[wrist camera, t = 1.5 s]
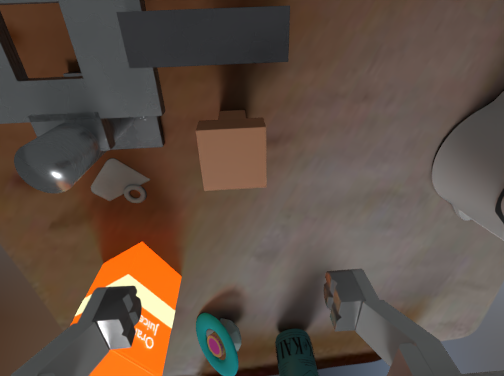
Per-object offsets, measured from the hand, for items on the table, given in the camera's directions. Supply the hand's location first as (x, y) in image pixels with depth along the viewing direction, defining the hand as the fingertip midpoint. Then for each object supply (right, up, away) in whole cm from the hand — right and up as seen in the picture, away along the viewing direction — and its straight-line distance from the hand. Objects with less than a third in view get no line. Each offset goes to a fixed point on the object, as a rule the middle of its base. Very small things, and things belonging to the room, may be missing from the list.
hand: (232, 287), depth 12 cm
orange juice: (-16, -8, +30) cm, 35 cm away
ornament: (-5, -19, +38) cm, 43 cm away
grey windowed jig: (-8, +16, +16) cm, 24 cm away
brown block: (-1, +12, +20) cm, 23 cm away
